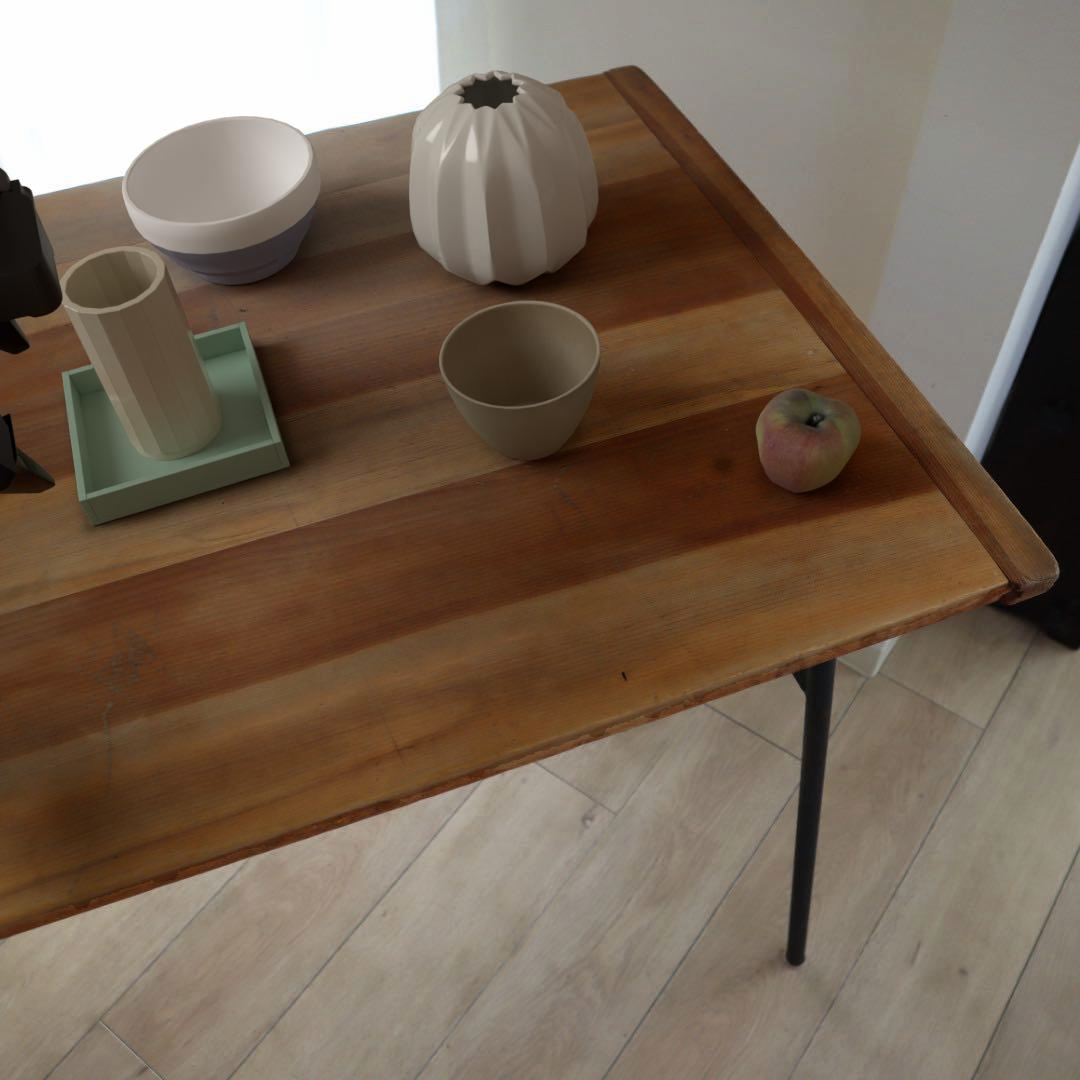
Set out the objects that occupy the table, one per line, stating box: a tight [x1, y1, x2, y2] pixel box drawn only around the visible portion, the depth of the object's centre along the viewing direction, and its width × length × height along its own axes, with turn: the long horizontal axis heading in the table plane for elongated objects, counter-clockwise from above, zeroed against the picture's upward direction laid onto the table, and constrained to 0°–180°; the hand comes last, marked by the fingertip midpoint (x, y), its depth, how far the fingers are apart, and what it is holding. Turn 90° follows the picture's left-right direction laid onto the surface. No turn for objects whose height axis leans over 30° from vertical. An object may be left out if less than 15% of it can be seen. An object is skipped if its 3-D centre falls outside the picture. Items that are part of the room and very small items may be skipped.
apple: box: [755, 387, 862, 494], centre depth 72 cm, size 6×8×6 cm
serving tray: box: [61, 320, 291, 527], centre depth 80 cm, size 13×13×2 cm
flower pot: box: [438, 300, 602, 461], centre depth 75 cm, size 10×10×7 cm
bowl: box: [121, 115, 322, 286], centre depth 90 cm, size 14×14×8 cm
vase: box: [408, 69, 599, 287], centre depth 85 cm, size 14×14×13 cm
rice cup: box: [59, 245, 223, 460], centre depth 75 cm, size 6×6×12 cm
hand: (34, 415), depth 63 cm, fingers open, 9 cm apart
